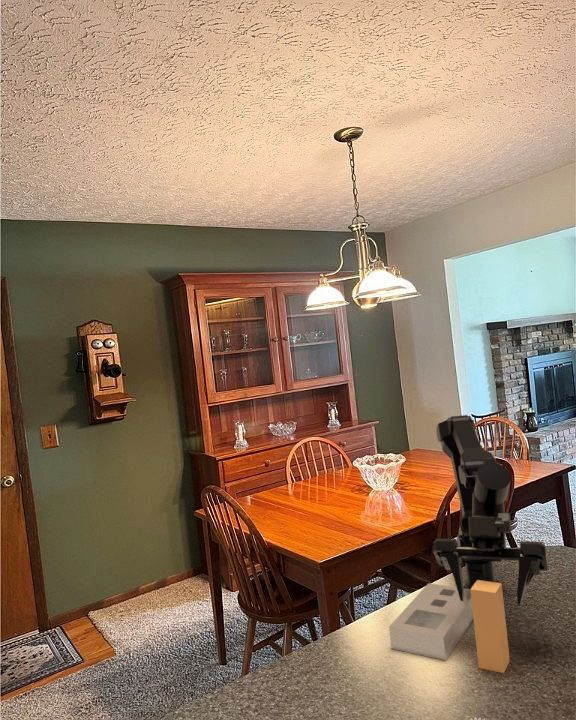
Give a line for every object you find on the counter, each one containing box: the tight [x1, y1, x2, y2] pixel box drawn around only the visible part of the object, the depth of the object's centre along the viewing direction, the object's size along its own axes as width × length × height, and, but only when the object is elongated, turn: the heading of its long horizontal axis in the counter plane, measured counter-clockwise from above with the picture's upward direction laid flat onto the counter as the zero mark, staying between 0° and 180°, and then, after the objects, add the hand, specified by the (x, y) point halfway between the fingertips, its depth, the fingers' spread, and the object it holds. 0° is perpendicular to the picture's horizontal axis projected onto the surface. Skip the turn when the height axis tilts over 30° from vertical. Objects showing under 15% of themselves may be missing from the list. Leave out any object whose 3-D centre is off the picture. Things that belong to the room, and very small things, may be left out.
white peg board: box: [388, 583, 474, 661], centre depth 107 cm, size 20×10×4 cm, turn 146°
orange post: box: [470, 580, 511, 674], centre depth 94 cm, size 4×4×13 cm
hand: (489, 602), depth 96 cm, fingers open, 9 cm apart
